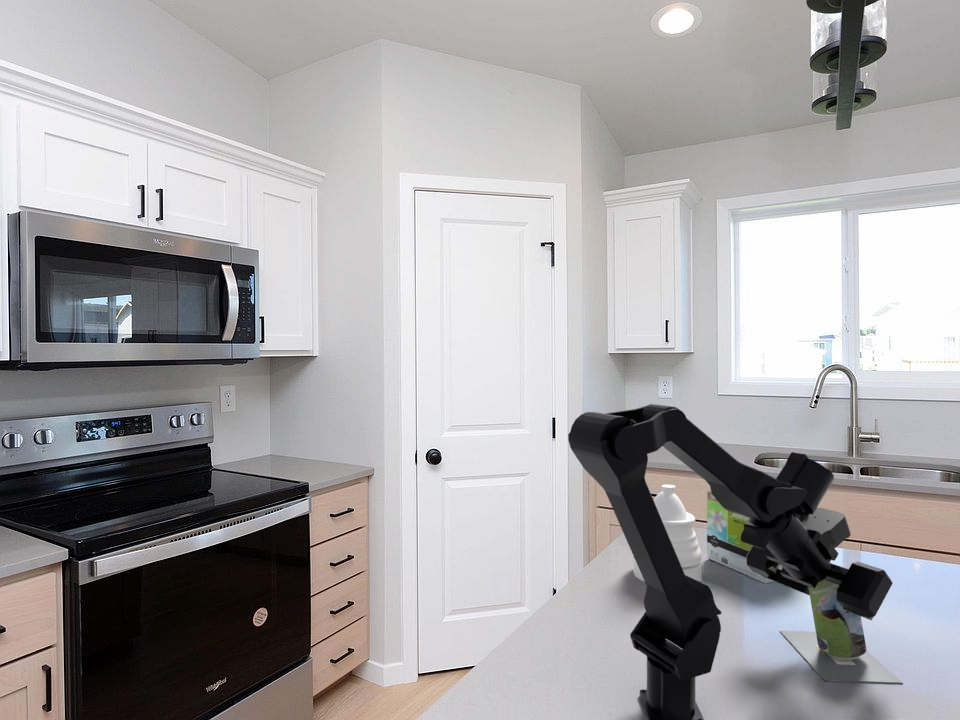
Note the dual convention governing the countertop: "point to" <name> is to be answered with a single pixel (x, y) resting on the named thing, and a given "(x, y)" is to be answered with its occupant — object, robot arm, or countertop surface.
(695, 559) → the honey pot
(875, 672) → the tile
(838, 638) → the beverage can
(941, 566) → the countertop surface
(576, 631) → the countertop surface
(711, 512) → the tea box
